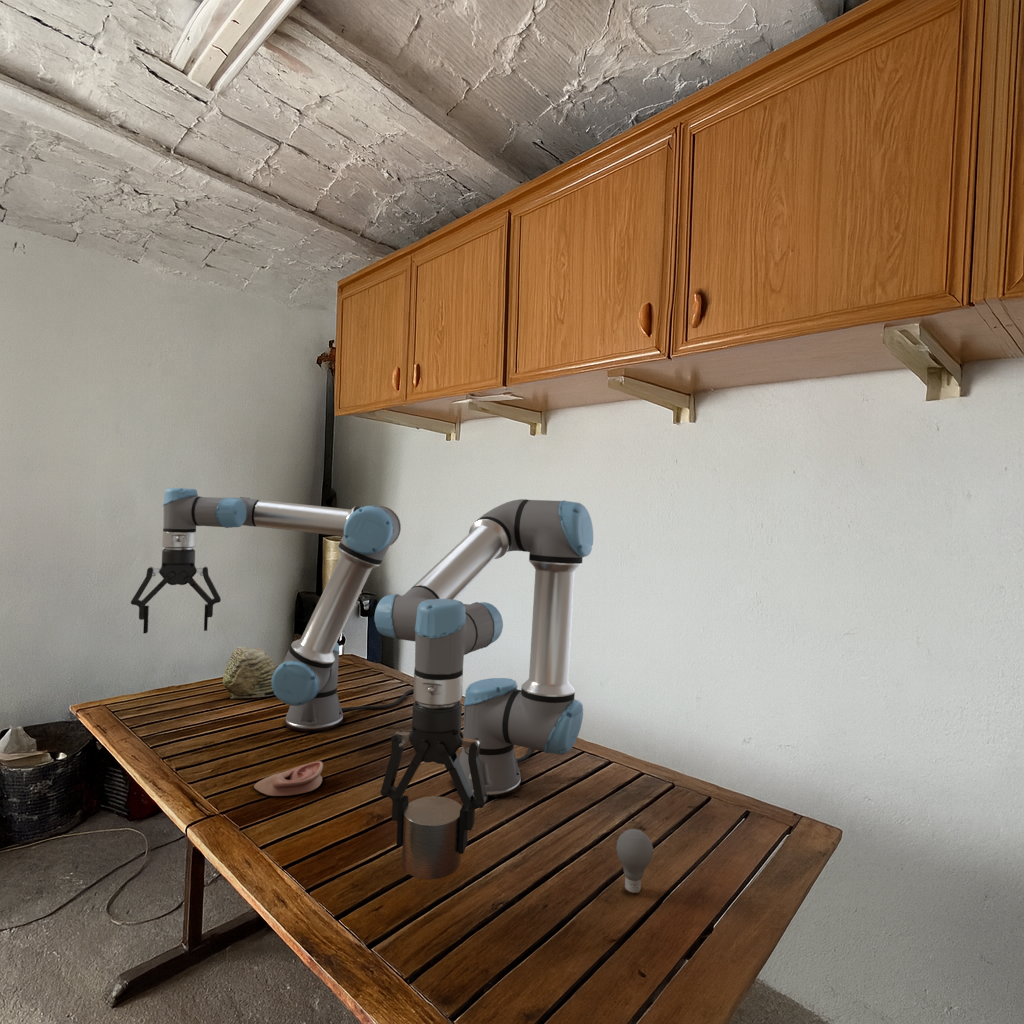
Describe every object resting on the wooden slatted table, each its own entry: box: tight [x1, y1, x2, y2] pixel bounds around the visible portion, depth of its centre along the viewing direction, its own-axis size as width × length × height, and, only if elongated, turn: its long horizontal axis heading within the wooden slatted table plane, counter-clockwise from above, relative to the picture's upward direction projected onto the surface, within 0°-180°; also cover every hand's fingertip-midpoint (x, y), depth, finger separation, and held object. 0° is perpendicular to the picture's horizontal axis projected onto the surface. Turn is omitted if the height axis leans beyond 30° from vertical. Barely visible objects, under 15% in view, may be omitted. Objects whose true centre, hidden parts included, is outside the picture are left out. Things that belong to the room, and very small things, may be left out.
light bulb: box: [615, 828, 654, 894], centre depth 106 cm, size 6×6×10 cm
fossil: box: [222, 646, 277, 699], centre depth 198 cm, size 9×18×15 cm, turn 132°
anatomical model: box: [253, 760, 324, 797], centre depth 138 cm, size 13×4×12 cm
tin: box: [401, 795, 462, 880], centre depth 98 cm, size 9×9×8 cm
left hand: (176, 631), depth 162 cm, fingers open, 13 cm apart
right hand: (431, 844), depth 98 cm, fingers closed on tin, 9 cm apart
